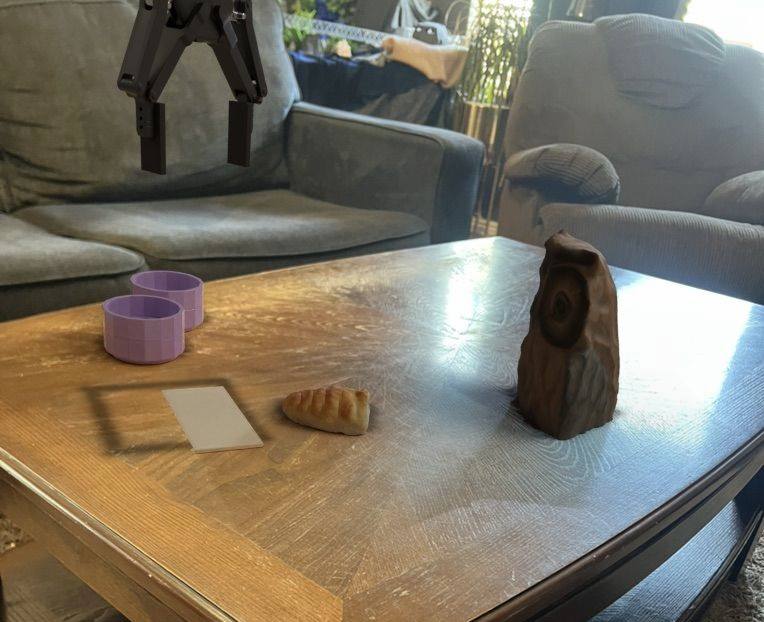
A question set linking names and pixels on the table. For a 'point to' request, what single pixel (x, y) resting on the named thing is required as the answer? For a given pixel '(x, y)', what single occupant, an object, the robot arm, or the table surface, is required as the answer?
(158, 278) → the far dish
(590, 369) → the owl
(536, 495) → the table surface
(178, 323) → the near dish
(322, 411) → the pastry
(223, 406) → the place mat
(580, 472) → the table surface
